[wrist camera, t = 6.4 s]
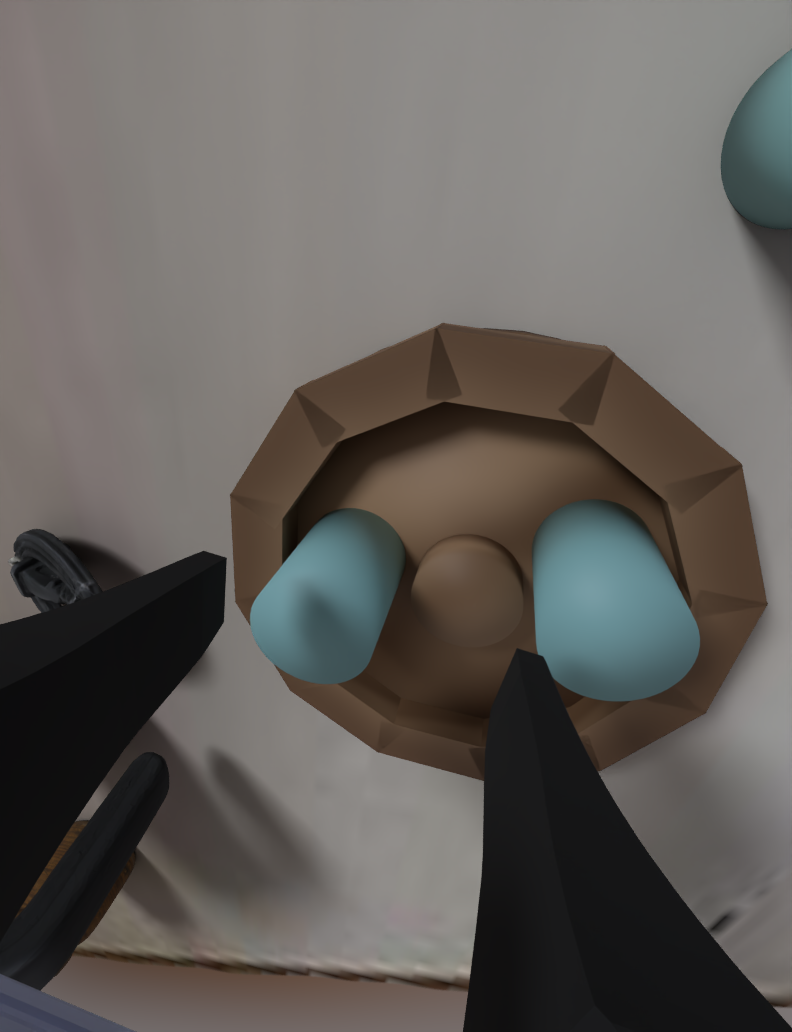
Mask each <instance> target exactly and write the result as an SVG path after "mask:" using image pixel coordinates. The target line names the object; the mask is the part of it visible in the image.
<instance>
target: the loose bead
mask: <svg viewBox="0 0 792 1032" xmlns="http://www.w3.org/2000/svg"><path fill="white" fill-rule="evenodd" d="M721 175H722V181H723V186H724V189H725V192H726V194H727V197H728V199H729V200H730V202H731V204H732V205H733V207H734V208H735V209H736V210H737V211H738V212H739V213H740V214H741V215H742V216H743V217H744V218H746V219H747V220H749V221H751V222H753V223H754V224H757V225H760V226H763V227H767V228H772V229H792V49H791V50H790V51H788V52H787V53H786V54H785V55H784V56H782V57H781V58H780V59H779V60H777V61H776V62H775V63H774V64H773V65H772V66H771V67H769V68H768V69H767V70H766V71H765V72H764V73H763V74H762V75H761V76H760V77H759V78H758V79H757V80H756V82H755V83H754V84H753V85H752V87H751V88H750V89H749V90H748V92H747V93H746V94H745V96H744V98H743V99H742V101H741V102H740V104H739V105H738V107H737V109H736V111H735V113H734V115H733V117H732V119H731V122H730V124H729V127H728V129H727V132H726V135H725V139H724V143H723V148H722V154H721Z"/></svg>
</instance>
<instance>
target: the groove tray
mask: <svg viewBox="0 0 792 1032" xmlns="http://www.w3.org/2000/svg"><path fill="white" fill-rule="evenodd" d="M230 499H231V519H232V540H233V560H234V580H235V600H236V601H235V602H236V604H237V605H238V607H239V608H240V610H241V612H242V613H243V615H244V616H245V618H246V620H247V621H248V623H249V625H250V626H251V624H250V613H251V608H252V605H253V603H254V601H255V599H256V598H257V596H258V595H259V594H260V592H261V591H262V590H263V589H264V587H265V586H266V585H267V584H268V582H269V581H270V580H271V579H272V577H273V576H274V575H275V574H276V572H277V571H278V570H279V569H280V567H281V566H282V565H283V564H284V562H285V561H286V560H287V559H288V557H289V556H290V555H291V554H292V552H293V551H294V550H295V549H296V547H297V546H298V545H299V544H300V542H301V541H302V540H303V538H304V537H305V536H306V535H307V533H308V532H309V531H310V530H311V528H312V527H313V526H314V525H315V523H316V522H317V521H318V520H319V519H320V518H321V517H323V516H324V515H325V514H327V513H329V512H331V511H334V510H337V509H342V508H357V509H362V510H366V511H369V512H372V513H374V514H376V515H378V516H380V517H381V518H382V519H384V520H385V521H386V522H388V523H389V524H390V525H391V526H392V527H393V528H394V529H395V531H396V532H397V533H398V535H399V537H400V538H401V540H402V543H403V545H404V549H405V554H406V564H405V569H404V572H403V575H402V577H401V580H400V583H399V585H398V588H397V590H396V593H395V596H394V598H393V601H392V604H391V606H390V609H389V612H388V614H387V617H386V620H385V622H384V625H383V628H382V630H381V633H380V636H379V638H378V641H377V643H376V646H375V649H374V651H373V654H372V657H371V659H370V662H369V663H368V665H367V667H366V668H365V669H364V670H363V671H362V672H361V673H360V674H359V675H358V676H356V677H354V678H353V679H351V680H348V681H345V682H342V683H337V684H317V683H312V682H307V681H304V680H301V679H298V678H296V677H294V676H292V675H290V674H288V673H286V672H284V671H283V670H281V669H280V668H279V667H277V666H276V665H275V664H274V665H275V667H276V668H277V670H278V671H279V673H280V675H281V676H282V678H283V680H284V681H285V683H286V684H287V686H288V688H289V689H290V691H292V692H293V693H294V694H296V695H297V696H299V697H300V698H302V699H303V700H304V701H306V702H307V703H309V704H310V705H312V706H313V707H314V708H316V709H317V710H319V711H320V712H321V713H323V714H324V715H326V716H327V717H329V718H330V719H331V720H333V721H334V722H336V723H337V724H338V725H340V726H341V727H343V728H344V729H346V730H347V731H348V732H350V733H351V734H353V735H354V736H355V737H357V738H358V739H360V740H361V741H363V742H364V743H365V744H367V745H368V746H370V747H371V748H372V749H374V750H375V751H377V752H379V753H383V754H386V755H390V756H394V757H398V758H401V759H405V760H409V761H412V762H416V763H420V764H423V765H427V766H431V767H435V768H438V769H442V770H446V771H449V772H453V773H457V774H460V775H464V776H468V777H472V778H475V779H479V780H483V781H484V771H485V747H486V740H487V732H488V725H489V718H490V711H491V707H492V705H493V703H494V700H495V698H496V696H497V693H498V691H499V689H500V686H501V684H502V681H503V679H504V677H505V674H506V672H507V670H508V667H509V665H510V663H511V660H512V658H513V656H514V653H515V651H516V649H517V648H518V649H522V650H525V651H528V652H531V653H534V654H538V652H537V646H536V630H535V610H534V590H533V570H532V543H533V539H534V536H535V533H536V531H537V529H538V528H539V526H540V525H541V523H542V522H543V521H544V520H545V519H546V518H547V517H548V516H549V515H550V514H552V513H553V512H554V511H556V510H557V509H559V508H561V507H563V506H565V505H567V504H570V503H573V502H577V501H581V500H589V499H601V500H608V501H612V502H616V503H619V504H621V505H624V506H626V507H628V508H629V509H631V510H632V511H634V512H635V513H636V514H638V515H639V516H640V517H641V518H642V520H643V521H644V522H645V523H646V525H647V527H648V529H649V531H650V533H651V534H652V536H653V538H654V540H655V542H656V544H657V546H658V548H659V550H660V552H661V554H662V556H663V558H664V560H665V562H666V564H667V566H668V568H669V570H670V572H671V574H672V576H673V578H674V580H675V582H676V584H677V586H678V588H679V590H680V591H681V593H682V595H683V597H684V599H685V601H686V603H687V605H688V607H689V609H690V611H691V613H692V615H693V617H694V619H695V621H696V623H697V626H698V629H699V635H700V648H699V652H698V656H697V658H696V661H695V663H694V664H693V666H692V668H691V669H690V671H689V672H688V673H687V674H686V675H685V676H684V677H683V678H682V679H681V680H680V681H679V682H678V683H676V684H675V685H673V686H672V687H670V688H669V689H667V690H665V691H663V692H661V693H659V694H656V695H653V696H650V697H647V698H643V699H638V700H633V701H603V700H598V699H592V698H589V697H586V696H583V695H580V694H578V693H575V692H573V691H571V690H569V689H567V688H566V687H564V686H563V685H561V684H560V683H558V682H557V681H556V680H555V679H554V678H553V680H554V682H555V684H556V687H557V689H558V691H559V694H560V696H561V698H562V701H563V703H564V705H565V707H566V710H567V712H568V714H569V716H570V718H571V720H572V722H573V724H574V727H575V729H576V731H577V733H578V735H579V737H580V739H581V741H582V743H583V745H584V747H585V749H586V751H587V753H588V755H589V757H590V759H591V761H592V762H593V764H594V766H595V768H596V770H597V771H601V770H603V769H605V768H607V767H608V766H610V765H612V764H614V763H616V762H617V761H619V760H621V759H623V758H625V757H627V756H628V755H630V754H632V753H634V752H636V751H637V750H639V749H641V748H643V747H645V746H647V745H648V744H650V743H652V742H654V741H656V740H657V739H659V738H661V737H663V736H665V735H667V734H668V733H670V732H672V731H674V730H676V729H677V728H679V727H681V726H683V725H685V724H687V723H688V722H690V721H692V720H694V719H696V718H697V717H699V716H701V715H703V714H705V713H706V711H707V710H708V708H709V706H710V704H711V703H712V701H713V699H714V697H715V696H716V694H717V692H718V690H719V688H720V687H721V685H722V683H723V681H724V680H725V678H726V676H727V674H728V673H729V671H730V669H731V667H732V666H733V664H734V662H735V660H736V659H737V657H738V655H739V653H740V651H741V650H742V648H743V646H744V644H745V643H746V641H747V639H748V637H749V636H750V634H751V632H752V630H753V629H754V627H755V625H756V623H757V621H758V620H759V618H760V616H761V614H762V613H763V611H764V609H765V607H766V606H767V604H768V603H767V601H766V595H765V590H764V584H763V579H762V573H761V568H760V562H759V557H758V551H757V546H756V540H755V535H754V529H753V524H752V518H751V513H750V507H749V502H748V496H747V491H746V485H745V480H744V474H743V469H742V464H741V463H740V462H739V461H738V460H736V459H735V458H734V457H733V456H732V455H731V454H729V453H728V452H727V451H726V450H725V449H724V448H722V447H720V446H719V445H718V444H717V443H716V442H714V441H713V440H712V439H711V438H710V437H709V436H708V435H706V434H705V433H704V432H703V431H702V430H701V429H700V428H698V427H697V426H696V425H695V424H694V423H693V422H692V421H690V420H689V419H688V418H687V417H686V416H685V415H684V414H682V413H681V412H680V411H679V410H678V409H677V408H675V407H674V406H673V405H672V404H671V403H670V402H669V401H667V400H666V399H665V398H664V397H663V396H662V395H661V394H659V393H658V392H657V391H656V390H655V389H654V388H653V387H651V386H650V385H649V384H648V383H647V382H646V381H644V380H643V379H642V378H641V377H640V376H639V375H638V374H636V373H635V372H634V371H633V370H632V369H631V368H630V367H628V366H627V365H626V364H625V363H624V362H623V361H622V360H620V359H619V358H618V357H617V356H616V355H615V353H614V352H612V351H611V350H610V349H609V348H608V347H607V346H601V345H594V344H587V343H580V342H573V341H566V340H561V339H558V338H553V337H548V336H544V335H539V334H534V333H530V332H525V331H516V330H502V329H488V328H474V327H467V326H460V325H453V324H445V323H442V324H440V325H438V326H436V327H434V328H431V329H429V330H427V331H425V332H422V333H420V334H418V335H415V336H413V337H411V338H409V339H406V340H404V341H402V342H400V343H397V344H395V345H393V346H390V347H387V348H384V349H382V350H380V351H378V352H376V353H374V354H372V355H370V356H368V357H365V358H363V359H361V360H359V361H356V362H354V363H352V364H350V365H347V366H345V367H343V368H340V369H338V370H336V371H334V372H331V373H329V374H327V375H325V376H322V377H320V378H318V379H316V380H312V381H310V382H308V383H306V384H305V385H303V386H301V387H299V388H297V389H296V390H294V393H293V394H292V396H291V398H290V399H289V401H288V403H287V404H286V406H285V407H284V409H283V411H282V412H281V414H280V415H279V417H278V419H277V420H276V422H275V424H274V425H273V427H272V428H271V430H270V432H269V433H268V435H267V437H266V438H265V440H264V441H263V443H262V445H261V446H260V448H259V449H258V451H257V453H256V454H255V456H254V458H253V459H252V461H251V462H250V464H249V466H248V467H247V469H246V471H245V472H244V474H243V475H242V477H241V479H240V480H239V482H238V483H237V485H236V487H235V488H234V490H233V492H232V493H231V494H230Z"/></svg>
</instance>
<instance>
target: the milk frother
mask: <svg viewBox="0 0 792 1032" xmlns="http://www.w3.org/2000/svg"><path fill="white" fill-rule="evenodd" d="M14 552H16V553H15V557H13V558H11V559H9V560H8V563H9V565H11V566H12V569H11V572H10V573H11V576H12V578H13V580H14V582H15V584H16V586H17V588H18V589H19V591H20V593H21V594H22V595H23V596H24V597H31V598H32V600H33V602H34V603H35V604H36V606H37V608H38V609H39V610H40V611H41V612H42V613H43V612H47V611H50V610H53V609H56V608H59V607H62V606H61V604H65V603H66V604H67V605H68V604H71V603H74V602H77V601H80V600H82V599H85V598H88V597H90V596H93V595H96V594H98V593H101V592H103V591H102V590H101V588H100V587H99V585H98V584H97V582H96V580H95V579H94V578H93V576H92V575H91V573H90V572H89V571H88V569H87V568H86V567H85V565H84V564H83V563H82V562H81V560H80V559H79V558H78V557H77V556H76V555H75V554H74V553H73V552H72V550H71V549H70V547H69V546H68V545H67V544H65V543H63V542H62V541H61V540H59V539H58V538H57V537H55V536H54V535H53V534H51V533H49V532H47V531H45V530H41V529H32V530H29V531H27V532H24V533H22V534H20V535H19V536H18V537H17V539H16V541H15V543H14ZM168 790H169V773H168V767H167V764H166V761H165V760H164V759H163V757H162V756H160V755H158V754H156V753H154V752H146V753H144V754H142V755H140V756H139V757H138V758H137V759H135V760H134V761H133V762H132V764H131V765H130V766H129V768H128V769H127V770H126V772H125V773H124V774H123V776H122V777H121V778H120V780H119V781H118V783H117V784H116V785H115V787H114V788H113V789H112V790H111V792H110V793H109V794H108V796H107V797H106V799H105V800H104V801H103V803H102V804H101V805H100V807H99V808H98V809H97V811H96V812H95V813H94V815H93V816H92V818H91V819H90V821H89V822H88V823H87V825H86V826H85V827H84V829H83V830H82V831H81V833H80V834H79V835H78V837H77V838H76V839H75V841H74V842H73V843H72V845H71V846H70V847H69V849H68V850H67V851H66V853H65V854H64V855H63V857H62V858H61V860H60V861H59V862H58V864H57V865H56V866H55V868H54V869H53V870H52V872H51V873H50V875H49V876H48V878H47V879H46V881H45V882H44V884H43V885H42V886H41V888H40V889H39V891H38V892H37V893H36V895H35V896H34V897H33V898H32V899H31V901H30V902H29V903H28V904H27V906H26V907H25V908H24V909H23V911H22V912H21V913H20V914H19V915H18V916H17V917H16V918H15V919H14V920H13V922H12V923H11V925H10V927H9V928H8V930H7V932H6V933H5V935H4V937H3V938H2V940H1V942H0V974H2V975H4V976H6V977H9V978H11V979H13V980H16V981H18V982H20V983H23V984H25V985H28V986H30V987H32V988H35V989H37V990H39V991H40V990H41V989H42V988H43V987H44V986H45V985H46V984H47V983H48V982H49V981H50V980H51V979H52V978H53V977H54V976H55V975H56V974H57V973H58V971H59V970H60V969H61V968H62V967H63V965H64V964H65V963H66V961H67V960H68V959H69V957H70V956H71V954H72V953H73V952H74V950H75V948H76V947H77V945H78V943H79V942H80V940H81V939H82V937H83V935H84V934H85V932H86V931H87V929H88V927H89V925H90V924H91V922H92V920H93V919H94V917H95V915H96V914H97V912H98V910H99V909H100V907H101V905H102V904H103V902H104V900H105V899H106V897H107V895H108V894H109V892H110V890H111V889H112V887H113V885H114V884H115V882H116V880H117V879H118V877H119V875H120V874H121V872H122V871H123V869H124V867H125V866H126V864H127V862H128V860H129V859H130V857H131V855H132V853H133V852H134V850H135V848H136V847H137V845H138V843H139V842H140V840H141V839H142V837H143V835H144V833H145V832H146V830H147V828H148V827H149V825H150V823H151V821H152V819H153V818H154V816H155V815H156V813H157V811H158V810H159V808H160V806H161V805H162V803H163V801H164V799H165V797H166V795H167V793H168Z"/></svg>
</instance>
